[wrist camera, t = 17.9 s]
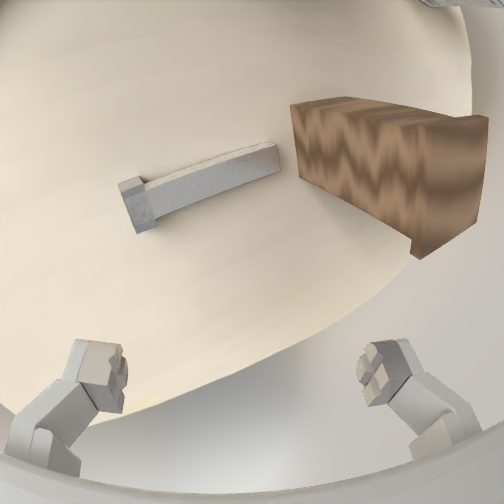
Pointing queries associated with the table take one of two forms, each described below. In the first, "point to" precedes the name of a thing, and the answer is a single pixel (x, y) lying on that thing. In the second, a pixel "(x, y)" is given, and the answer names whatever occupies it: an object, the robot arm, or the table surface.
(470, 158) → the walnut stand
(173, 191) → the link bar
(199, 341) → the table surface
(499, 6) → the hard drive box
